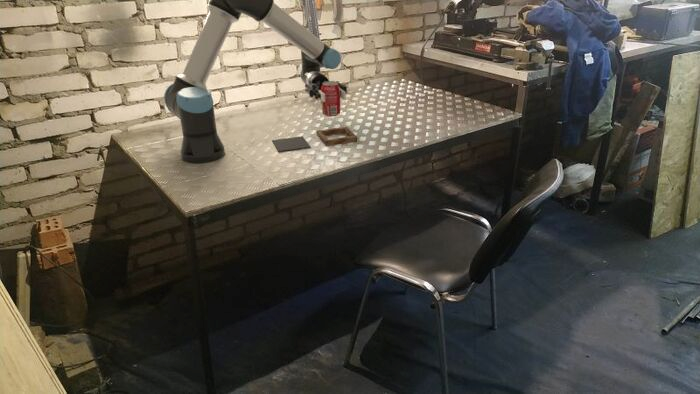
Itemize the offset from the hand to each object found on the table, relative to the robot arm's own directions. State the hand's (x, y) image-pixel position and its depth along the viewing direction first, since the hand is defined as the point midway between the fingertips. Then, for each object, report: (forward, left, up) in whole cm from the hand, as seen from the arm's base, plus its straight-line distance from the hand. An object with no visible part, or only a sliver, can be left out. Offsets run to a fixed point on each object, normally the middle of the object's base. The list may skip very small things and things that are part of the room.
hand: (334, 97), depth 186 cm
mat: (-16, +5, -18) cm, 24 cm away
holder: (+2, +5, -18) cm, 19 cm away
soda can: (0, +5, -8) cm, 10 cm away
